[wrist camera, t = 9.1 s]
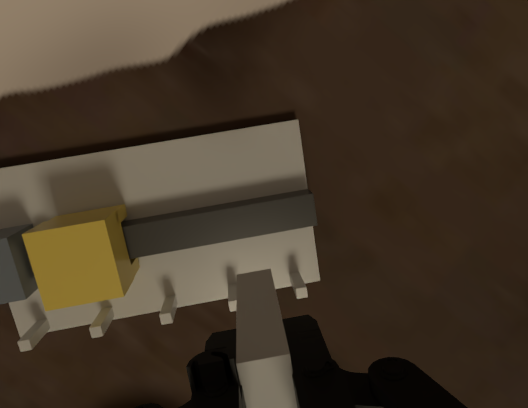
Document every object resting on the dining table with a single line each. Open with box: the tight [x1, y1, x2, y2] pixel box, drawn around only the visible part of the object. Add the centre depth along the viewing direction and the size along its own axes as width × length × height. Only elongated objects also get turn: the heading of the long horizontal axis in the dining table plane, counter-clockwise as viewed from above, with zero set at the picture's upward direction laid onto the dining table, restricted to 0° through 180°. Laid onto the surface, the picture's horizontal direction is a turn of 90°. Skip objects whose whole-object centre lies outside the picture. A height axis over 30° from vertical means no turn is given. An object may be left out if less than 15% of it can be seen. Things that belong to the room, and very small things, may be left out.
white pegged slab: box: [0, 119, 320, 352], centre depth 29 cm, size 24×13×5 cm, turn 99°
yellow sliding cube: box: [22, 204, 140, 311], centre depth 27 cm, size 5×5×5 cm
